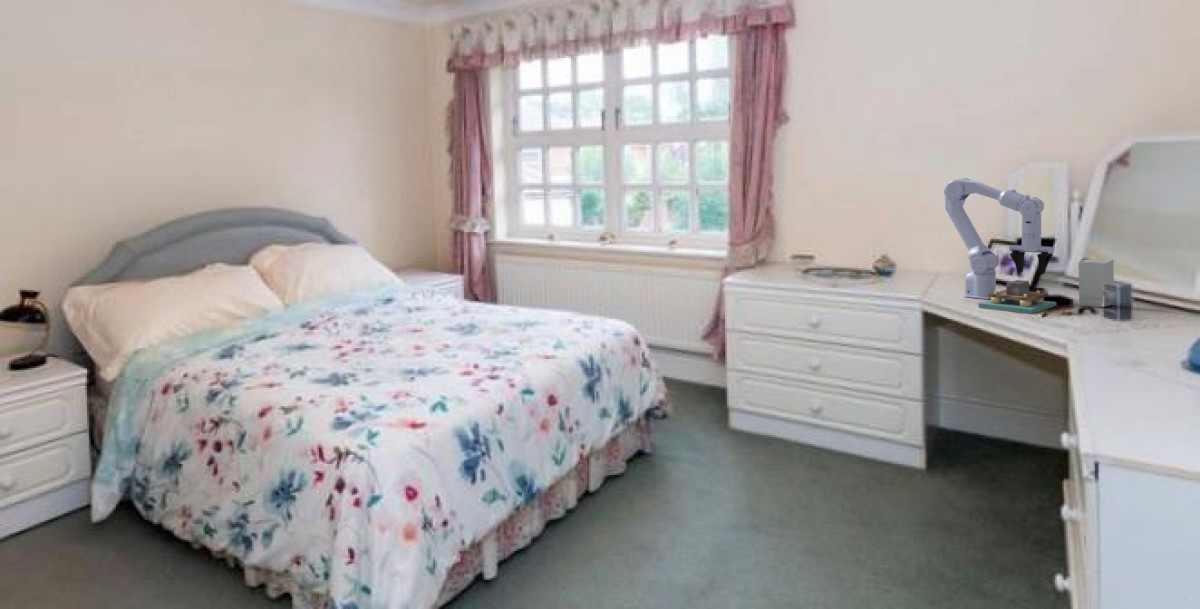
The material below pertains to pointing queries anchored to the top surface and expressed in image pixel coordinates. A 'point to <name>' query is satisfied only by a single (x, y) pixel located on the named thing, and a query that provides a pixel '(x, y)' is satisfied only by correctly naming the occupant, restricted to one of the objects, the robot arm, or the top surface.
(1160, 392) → the top surface
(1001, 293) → the board
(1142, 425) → the top surface
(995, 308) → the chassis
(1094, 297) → the skincare box
